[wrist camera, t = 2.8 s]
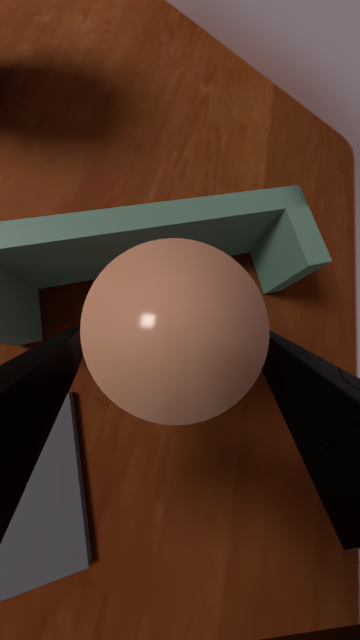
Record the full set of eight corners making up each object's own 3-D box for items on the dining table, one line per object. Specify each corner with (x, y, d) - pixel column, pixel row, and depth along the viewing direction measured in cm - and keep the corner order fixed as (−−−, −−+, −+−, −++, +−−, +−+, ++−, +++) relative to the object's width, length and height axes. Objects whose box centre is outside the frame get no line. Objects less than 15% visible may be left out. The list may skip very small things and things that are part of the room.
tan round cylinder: (207, 369, 17) (295, 393, 5) (144, 385, 16) (95, 453, 5) (191, 309, 18) (238, 227, 7) (131, 321, 17) (68, 252, 6)
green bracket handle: (280, 290, 19) (332, 261, 13) (18, 345, 16) (-69, 338, 10) (260, 234, 20) (299, 184, 14) (14, 273, 17) (-66, 229, 11)
